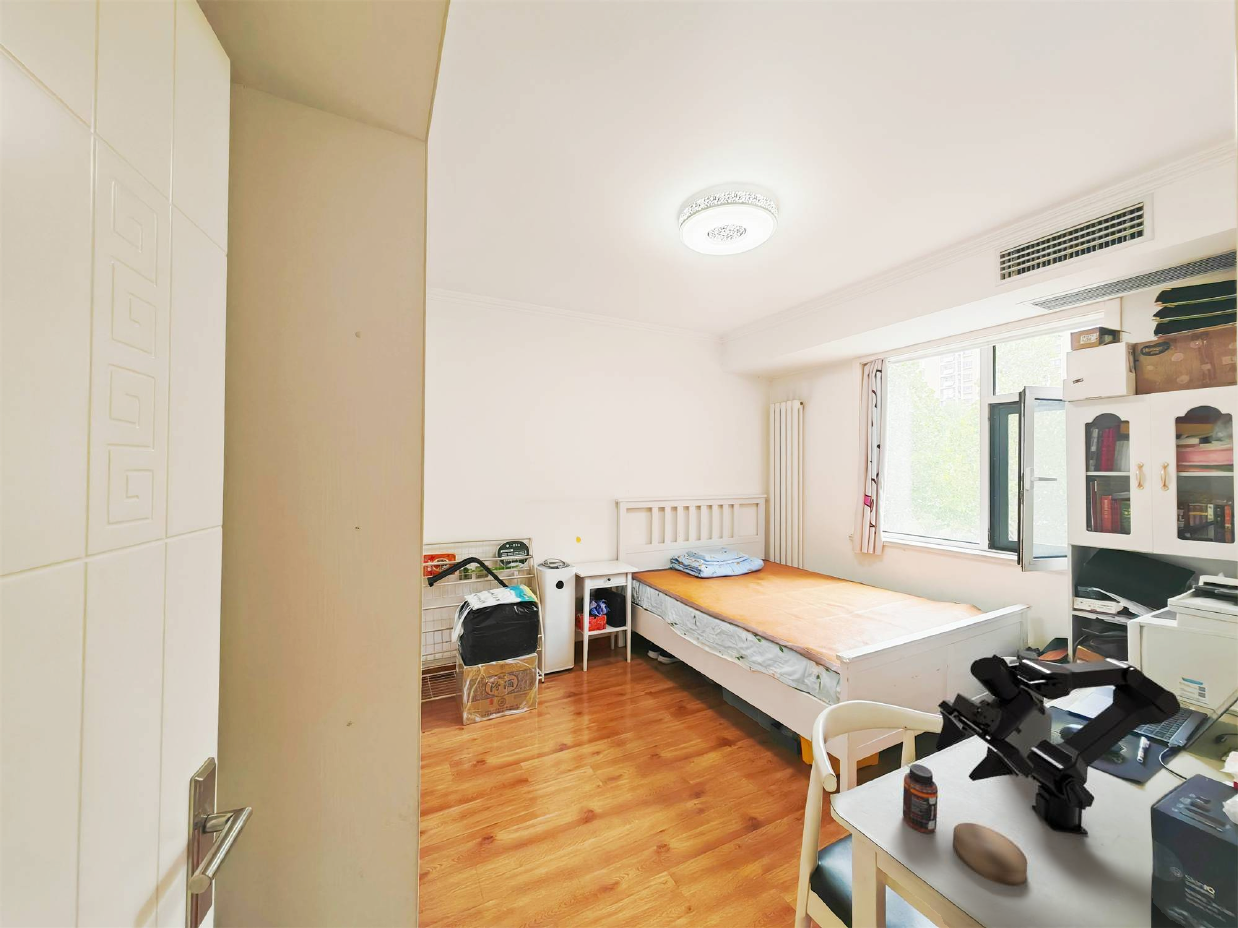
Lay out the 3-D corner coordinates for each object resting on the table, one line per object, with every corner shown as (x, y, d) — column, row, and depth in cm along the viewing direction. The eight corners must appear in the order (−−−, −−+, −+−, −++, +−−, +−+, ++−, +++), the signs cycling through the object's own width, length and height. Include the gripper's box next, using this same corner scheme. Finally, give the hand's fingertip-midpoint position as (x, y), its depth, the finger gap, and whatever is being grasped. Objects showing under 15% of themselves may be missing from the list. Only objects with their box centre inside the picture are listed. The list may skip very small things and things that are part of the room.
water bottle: (996, 745, 124) (1001, 641, 123) (1045, 759, 118) (1050, 651, 118) (999, 765, 116) (1004, 654, 115) (1052, 782, 110) (1058, 665, 109)
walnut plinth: (1001, 838, 93) (1001, 826, 93) (1042, 889, 82) (1043, 875, 82) (941, 831, 95) (941, 819, 95) (974, 879, 84) (974, 866, 84)
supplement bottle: (942, 837, 93) (944, 781, 93) (909, 831, 94) (911, 777, 94) (928, 814, 99) (930, 762, 99) (897, 809, 100) (899, 758, 100)
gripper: (947, 663, 106) (898, 711, 106) (1021, 708, 87) (962, 766, 87) (979, 698, 106) (930, 745, 106) (1059, 750, 88) (1001, 807, 87)
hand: (952, 763), depth 97 cm, fingers open, 9 cm apart
